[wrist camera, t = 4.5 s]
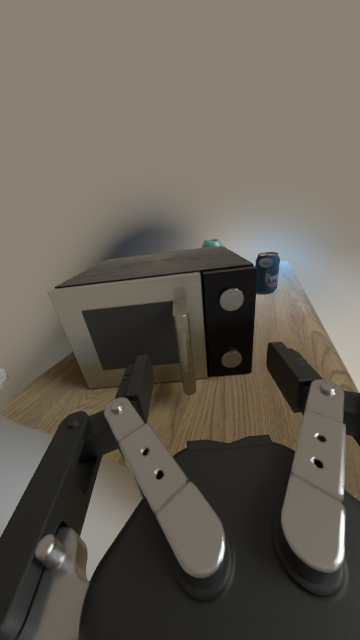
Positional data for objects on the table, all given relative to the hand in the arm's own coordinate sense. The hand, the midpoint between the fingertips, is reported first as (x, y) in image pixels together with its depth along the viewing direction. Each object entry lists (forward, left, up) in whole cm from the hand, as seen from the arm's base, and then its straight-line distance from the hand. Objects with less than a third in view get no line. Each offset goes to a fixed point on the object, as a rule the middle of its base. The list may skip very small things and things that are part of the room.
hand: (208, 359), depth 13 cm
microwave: (+18, +20, -16) cm, 31 cm away
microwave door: (+5, +15, -16) cm, 22 cm away
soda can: (+58, +11, -16) cm, 61 cm away
